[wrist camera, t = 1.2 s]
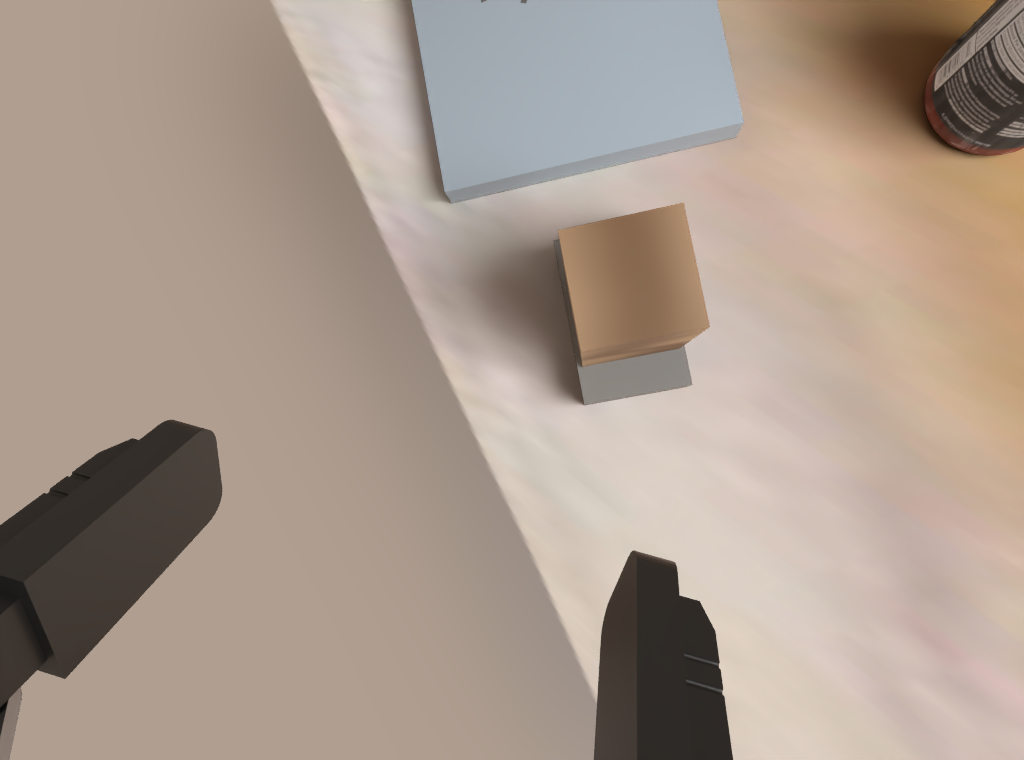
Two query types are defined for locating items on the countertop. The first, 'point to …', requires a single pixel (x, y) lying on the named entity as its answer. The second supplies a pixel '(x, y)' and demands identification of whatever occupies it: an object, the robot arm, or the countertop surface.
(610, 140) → the board
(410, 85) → the countertop surface
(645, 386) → the block
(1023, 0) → the supplement bottle
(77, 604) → the robot arm
